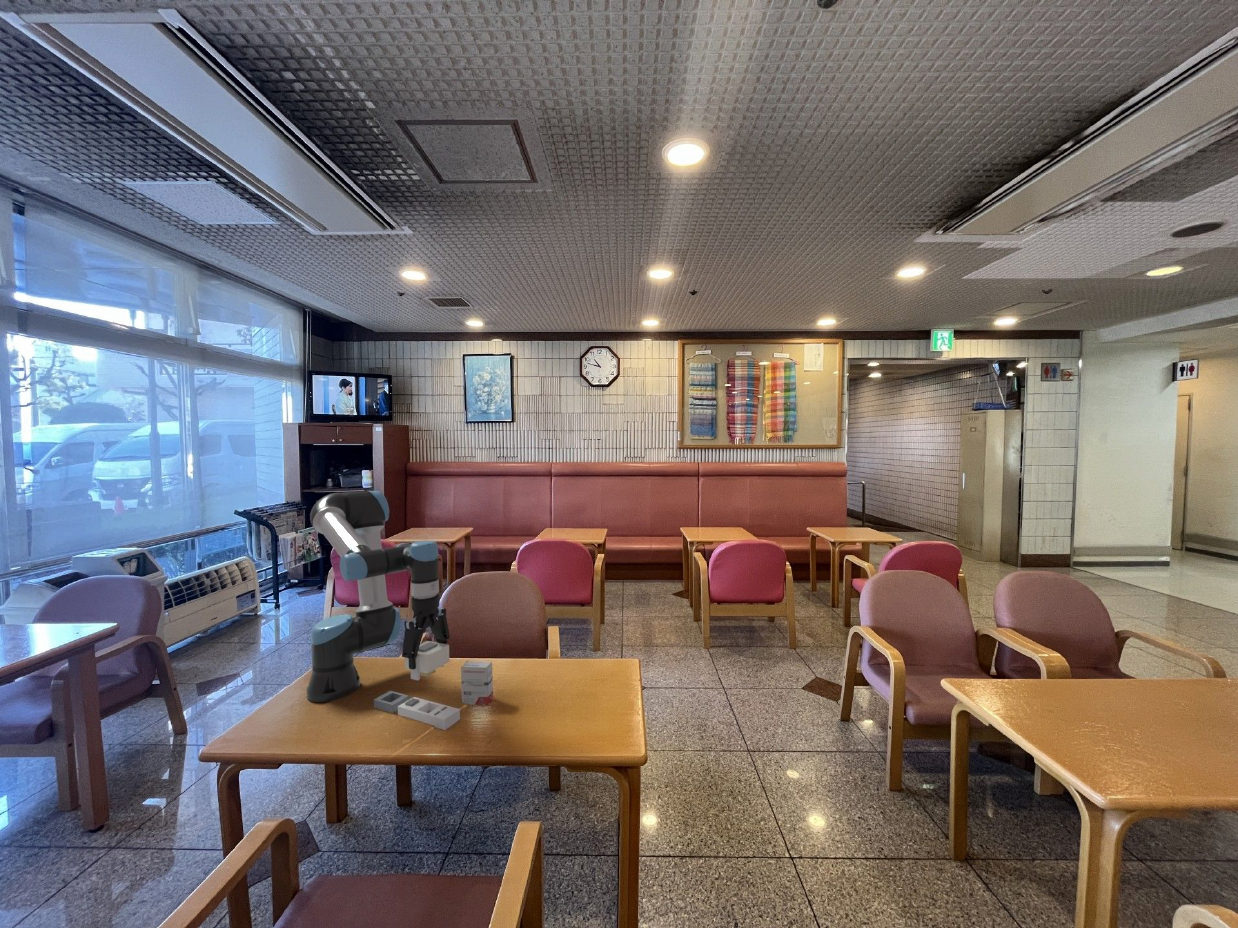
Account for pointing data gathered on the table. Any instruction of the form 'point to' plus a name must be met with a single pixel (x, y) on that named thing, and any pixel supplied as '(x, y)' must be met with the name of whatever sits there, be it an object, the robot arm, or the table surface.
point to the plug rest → (390, 701)
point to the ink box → (477, 683)
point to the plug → (431, 657)
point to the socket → (437, 716)
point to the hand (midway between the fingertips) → (427, 672)
